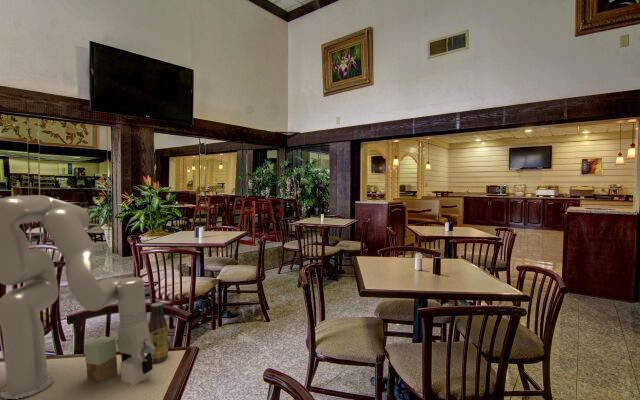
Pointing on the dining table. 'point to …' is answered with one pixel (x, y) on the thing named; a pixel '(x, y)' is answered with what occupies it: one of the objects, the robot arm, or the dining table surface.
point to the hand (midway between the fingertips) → (137, 368)
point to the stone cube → (133, 370)
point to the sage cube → (100, 350)
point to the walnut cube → (102, 371)
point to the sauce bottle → (158, 333)
